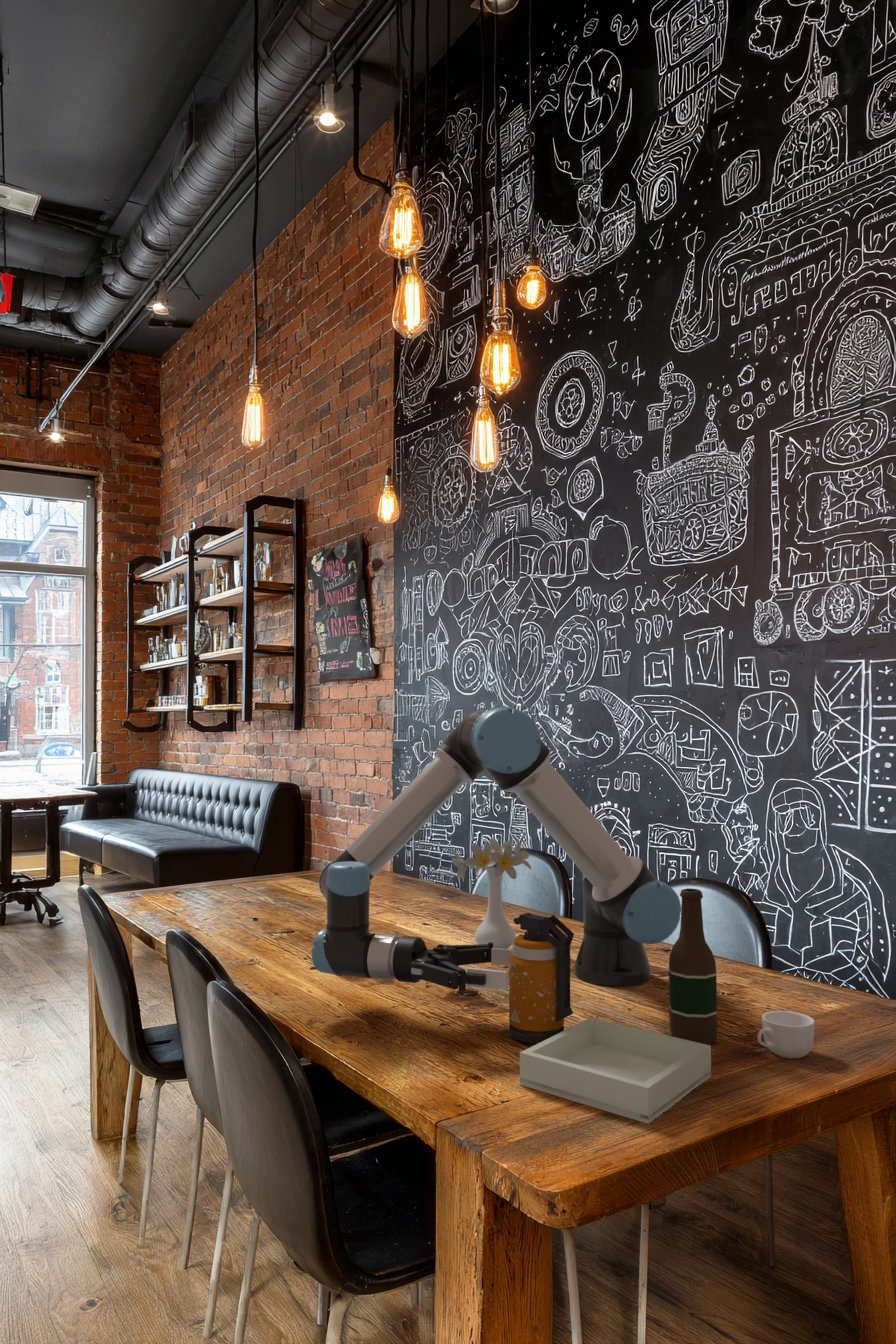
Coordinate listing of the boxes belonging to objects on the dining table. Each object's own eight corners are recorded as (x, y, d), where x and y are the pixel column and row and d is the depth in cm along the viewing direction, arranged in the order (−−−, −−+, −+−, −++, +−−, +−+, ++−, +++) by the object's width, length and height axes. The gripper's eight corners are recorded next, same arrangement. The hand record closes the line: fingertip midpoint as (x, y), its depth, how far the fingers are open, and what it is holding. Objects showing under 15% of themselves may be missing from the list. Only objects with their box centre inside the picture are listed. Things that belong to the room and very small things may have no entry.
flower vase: (443, 950, 206) (444, 838, 208) (514, 941, 214) (514, 834, 216) (470, 963, 195) (470, 845, 196) (543, 954, 203) (543, 841, 204)
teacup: (789, 1042, 148) (788, 1008, 148) (826, 1058, 141) (825, 1022, 141) (741, 1051, 144) (740, 1016, 144) (776, 1068, 137) (776, 1031, 137)
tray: (591, 1046, 146) (590, 1017, 146) (711, 1077, 133) (710, 1045, 133) (519, 1084, 130) (519, 1052, 130) (648, 1123, 117) (648, 1088, 118)
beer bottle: (684, 1048, 145) (682, 895, 146) (659, 1032, 152) (658, 886, 153) (727, 1043, 147) (725, 892, 148) (701, 1028, 154) (699, 884, 156)
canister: (529, 1024, 156) (529, 905, 157) (585, 1038, 149) (584, 914, 150) (498, 1038, 149) (498, 914, 150) (555, 1054, 142) (555, 924, 143)
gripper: (424, 962, 169) (536, 972, 162) (369, 1001, 146) (497, 1015, 139) (424, 921, 169) (536, 930, 162) (369, 953, 146) (496, 965, 139)
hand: (518, 969), depth 150 cm, fingers open, 13 cm apart
